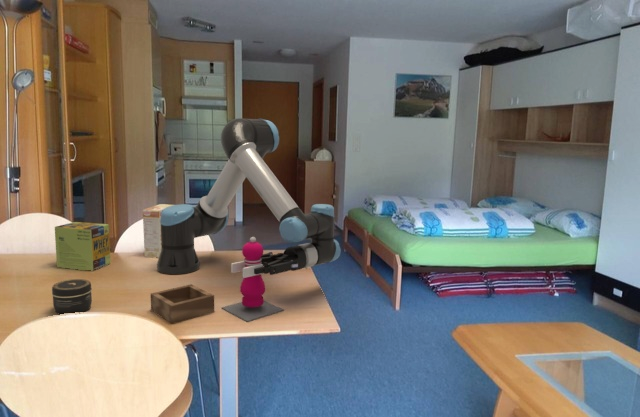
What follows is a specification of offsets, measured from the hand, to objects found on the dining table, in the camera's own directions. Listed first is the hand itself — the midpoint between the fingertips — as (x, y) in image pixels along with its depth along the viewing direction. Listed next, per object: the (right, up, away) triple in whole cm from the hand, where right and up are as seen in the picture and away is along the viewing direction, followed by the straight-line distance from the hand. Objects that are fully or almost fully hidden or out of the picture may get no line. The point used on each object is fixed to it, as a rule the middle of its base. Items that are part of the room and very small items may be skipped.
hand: (237, 270), depth 136 cm
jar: (-48, -12, +3) cm, 49 cm away
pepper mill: (+4, -10, +5) cm, 12 cm away
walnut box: (-16, -12, +3) cm, 21 cm away
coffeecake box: (-43, -1, +65) cm, 78 cm away
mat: (+3, -12, +6) cm, 14 cm away
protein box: (-65, -4, +45) cm, 79 cm away
